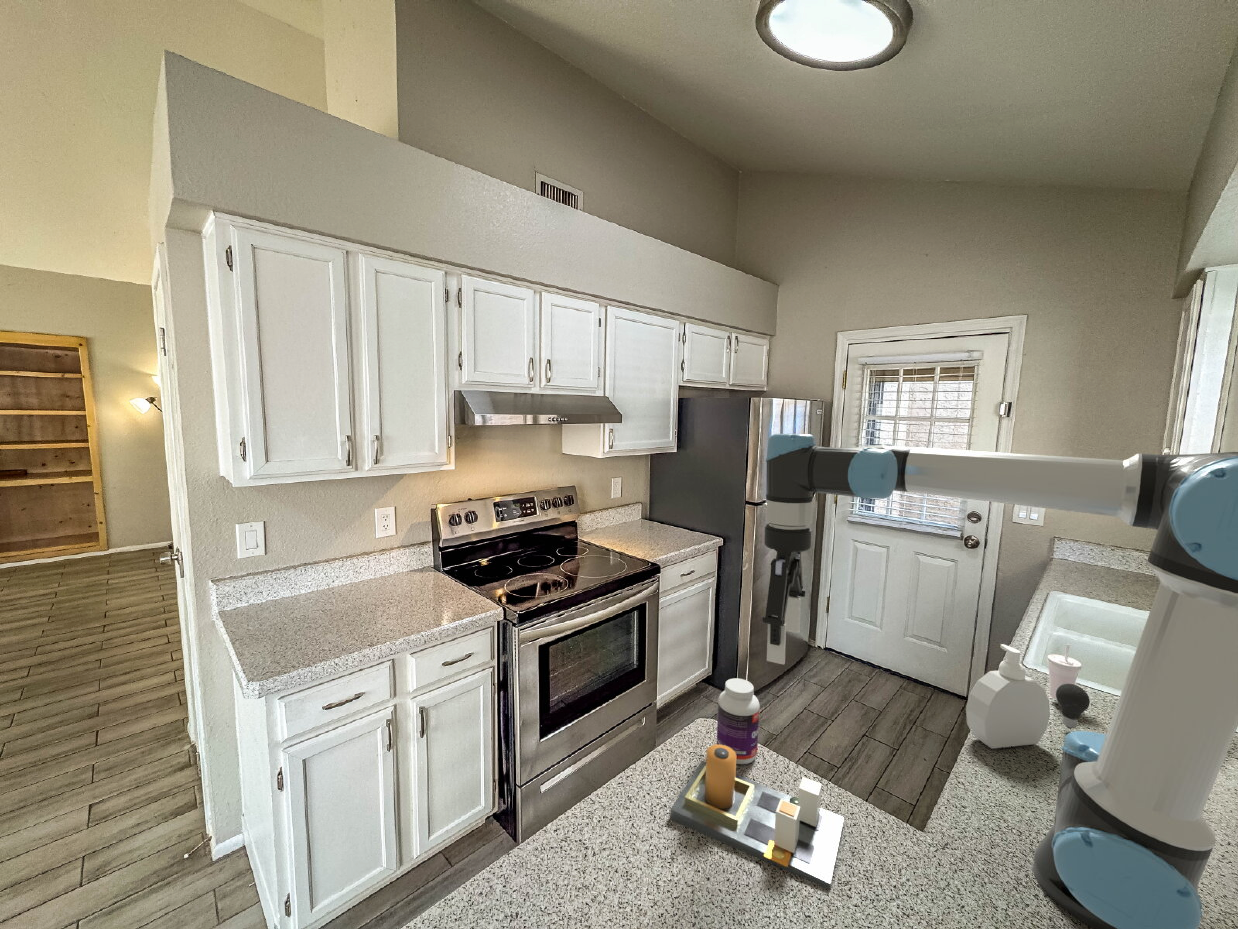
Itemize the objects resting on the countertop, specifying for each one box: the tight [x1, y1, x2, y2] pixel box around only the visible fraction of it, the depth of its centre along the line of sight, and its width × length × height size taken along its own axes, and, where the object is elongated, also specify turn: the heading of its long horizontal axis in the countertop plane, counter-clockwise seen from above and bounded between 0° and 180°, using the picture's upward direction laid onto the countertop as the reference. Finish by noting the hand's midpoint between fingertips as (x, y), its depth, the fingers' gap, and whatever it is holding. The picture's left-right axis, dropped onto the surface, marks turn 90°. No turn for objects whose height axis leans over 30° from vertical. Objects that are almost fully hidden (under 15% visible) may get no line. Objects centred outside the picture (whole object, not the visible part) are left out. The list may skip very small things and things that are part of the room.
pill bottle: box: [715, 677, 761, 765], centre depth 101 cm, size 8×8×14 cm
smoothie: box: [1046, 643, 1082, 701], centre depth 125 cm, size 6×6×14 cm
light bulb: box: [1056, 684, 1091, 730], centre depth 113 cm, size 6×6×10 cm
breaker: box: [797, 776, 823, 827], centre depth 83 cm, size 3×3×6 cm
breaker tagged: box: [774, 799, 800, 853], centre depth 78 cm, size 3×3×6 cm
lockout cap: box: [705, 744, 737, 809], centre depth 87 cm, size 5×5×8 cm
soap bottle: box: [965, 643, 1051, 750], centre depth 108 cm, size 16×5×20 cm, turn 100°
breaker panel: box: [669, 760, 845, 890], centre depth 84 cm, size 25×15×3 cm, turn 59°
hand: (784, 645), depth 88 cm, fingers open, 13 cm apart
